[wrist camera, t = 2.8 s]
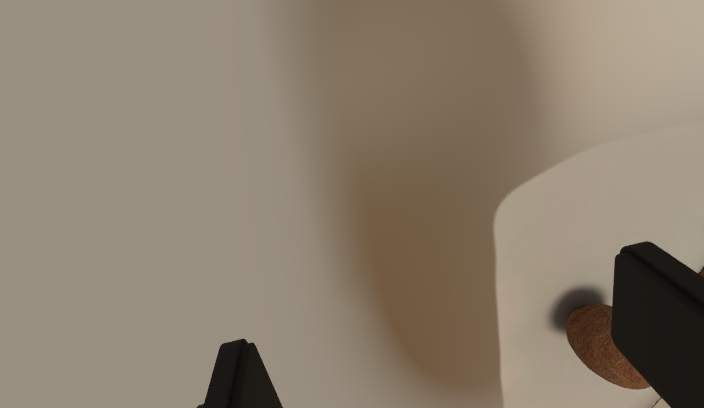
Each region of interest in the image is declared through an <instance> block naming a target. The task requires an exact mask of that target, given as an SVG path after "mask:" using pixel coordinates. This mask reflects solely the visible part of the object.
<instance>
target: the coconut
mask: <svg viewBox="0 0 704 408" xmlns="http://www.w3.org/2000/svg"><path fill="white" fill-rule="evenodd" d="M611 322H612V307H611V306H608V305H602V304H599V305H589V306H584V307H581V308H578V309H577V310H575V311H574V312H572V314H571V315H570V316H569V318H568V320H567V323H566V334H567V339H568V342H569V344H570V346H571V347H572V349H573V350H574V352H575V354H576V355H577V356H578V357H579V359H580V360H581V361H582V362H583V363H584V364H585V365H586V366H587V367H588V368H589V369H590V370H592V371H593V372H594V373H596V374H597V375H599V376H600V377H602V378H604V379H605V380H607V381H608V382H611V383H613V384H616V385H618V386H621V387H624V388H630V389H645V388H648V387H649V386H651V385H650V384H649V383H648V382H647V381H646V380H645V379H644V378H643V377H642V376H641V374H640V373H639V372H638V371H637V370H636V369H635V368H634V367H633V366H632V365H631V363H630V362H629V361H628V360H627V359H626V358H625V357H624V356H623V355H622V354H621V352H620V351H619V350H618V349H617V348H616V346H615V345H614V343H613V341H612V337H611Z"/></svg>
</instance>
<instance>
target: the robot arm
mask: <svg viewBox="0 0 704 408" xmlns="http://www.w3.org/2000/svg"><path fill="white" fill-rule="evenodd" d="M611 337H612V341H613V343H614V345H615V346H616V348H617V349H618V350H619V351H620V352H621V354H622V355H623V356H624V357H625V358H626V359H627V360H628V361H629V362H630V363H631V365H632V366H633V367H634V368H635V369H636V370H637V371H638V372H639V373H640V374H641V376H642V377H643V378H644V379H645V380H646V381H647V382H648V383H649V384H650V385H651V387H652V388H653V389H654V390H655V391H656V392H657V393H658V394H659V395H660V397H661V398H662V399H663V400H664V401H665V402H666V403H667V404H668V405H669V406H670V408H704V277H702V276H701V275H699V274H698V273H696V272H695V271H693V270H692V269H690V268H689V267H687V266H686V265H684V264H683V263H681V262H680V261H678V260H677V259H676V258H674V257H673V256H671V255H670V254H668V253H667V252H665V251H664V250H662V249H661V248H659V247H658V246H656V245H655V244H653V243H651V242H647V241H646V242H642V243H637V244H633V245H629V246H625V247H623V248H622V249H621V250H620V254H618V255H616V257H615V267H614V286H613V304H612V322H611ZM197 408H283V407H282V405H281V403H280V401H279V398H278V396H277V393H276V391H275V389H274V387H273V385H272V382H271V380H270V378H269V375H268V373H267V371H266V368H265V366H264V364H263V362H262V359H261V357H260V355H259V353H258V351H257V348H256V346H255V344H254V343H247V341H246V340H245V339H241V340H236V341H232V342H228V343H224V344H222V345H221V346H220V349H219V352H218V356H217V359H216V363H215V366H214V370H213V374H212V377H211V381H210V385H209V388H208V392H207V396H206V399H205V403H204V404H202V405H199V406H198V407H197Z"/></svg>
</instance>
